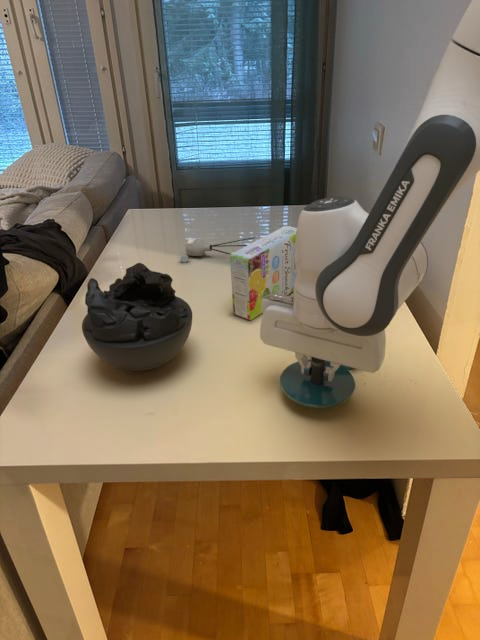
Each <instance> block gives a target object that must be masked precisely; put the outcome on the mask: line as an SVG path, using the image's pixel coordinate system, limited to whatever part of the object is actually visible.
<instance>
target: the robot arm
mask: <svg viewBox="0 0 480 640" xmlns="http://www.w3.org/2000/svg"><path fill="white" fill-rule="evenodd" d="M479 172H480V0H471V1H470V3H469V5H468V6H467V8H466V10H465V12H464V14H463V16H462V17H461V19H460V21H459V23H458V25H457V27H456V29H455V30H454V32H453V34H452V37H451V39H450V41H449V43H448V45H447V46H446V49H445V50H444V52H443V55H442V57H441V59H440V61H439V63H438V66H437V69H436V71H435V73H434V76H433V77H432V80H431V82H430V84H429V87H428V89H427V92H426V94H425V96H424V99H423V102H422V104H421V107H420V109H419V112H418V114H417V117H416V119H415V121H414V124H413V126H412V128H411V131H410V133H409V135H408V137H407V140H406V142H405V144H404V147H403V149H402V151H401V154H400V156H399V159H398V160H397V162H396V164H395V166H394V167H393V169H392V172H391V174H390V175H389V177H388V179H387V181H386V182H385V184H384V186H383V188H382V190H381V191H380V193H379V195H378V197H377V199H376V201H375V202H374V204H373V206H372V207H371V210H370V212H367V211H366V210H364V209H363V207H362V206H361V204H360V203H359V202H358V201H357V200H356V199H354V198H351V197H348V196H330V197H325V198H321V199H320V198H319V199H317V200H314V201H313V202H310V203H309V204H308V205H306V206H305V207H304V208H302V209H301V211H300V213H299V216H298V219H297V223H296V224H297V225H296V228H297V230H296V239H295V257H294V258H295V264H296V268H297V275H296V278H295V281H294V291H293V295H292V296H289V295H287V296H283V295H278V294H276V293H270V294H269V295H265V296H264V297H263V298H262V301H261V310H262V313H261V314H262V317H261V322H260V328H259V329H260V331H259V338H260V341H262V343H263V344H264V345H267V346H270V347H274V348H278V349H281V350H285V351H288V352H292V353H294V354H295V355H294V357H295V359H296V360H297V362H299V364H300V365H301V373H302V374H305V375H309V376H310V374H311V362H309V360H308V359H309V358H308V357H311V358H312V357H315V358H318V359H322V360H326V361H330V366H332V367H326V368H325V370H324V371H323V380H326V381H330V382H332V380H333V378H334V374H335V371H336V370H337V369H338V368H339V366H340V365H344V366H348V367H352V368H356V370H360V371H364V372H368V373H370V374H374V373H376V372H378V371H379V370H381V367H382V365H383V364H384V361H385V356H386V346H387V345H386V341H387V340H386V339H387V338H386V337H387V335H386V329H387V327H388V326H389V325H390V324H391V322H392V320H393V318H394V317H395V316H396V314H397V312H398V310H400V308H401V307H402V305H403V304H404V303H405V302H406V301H407V299H408V298H409V297H410V296H411V294H412V293H413V292H414V290H415V289H416V288H417V287H418V285H419V284H420V283H421V281H423V279H424V277H425V276H426V274H427V271H428V266H429V257H428V252H427V250H426V247H425V245H424V244H423V242H422V241H423V240H424V239H425V237H426V235H427V234H428V232H429V230H431V227H432V226H433V224H434V223H435V221H436V220H437V218H438V216H439V215H440V213H441V212H442V211H443V209H444V208H445V207H446V206H447V204H448V203H449V202H450V200H451V199H453V197H454V196H455V195H456V194H457V193H458V192H459V191H460V190H461V189H462V188H463V187H464V186H465V185H466V184H467V183H468V182H469V181H470V180H472V178H473V177H474V176H475V175H476V174H478V173H479ZM268 297H269V298H268Z"/></svg>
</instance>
